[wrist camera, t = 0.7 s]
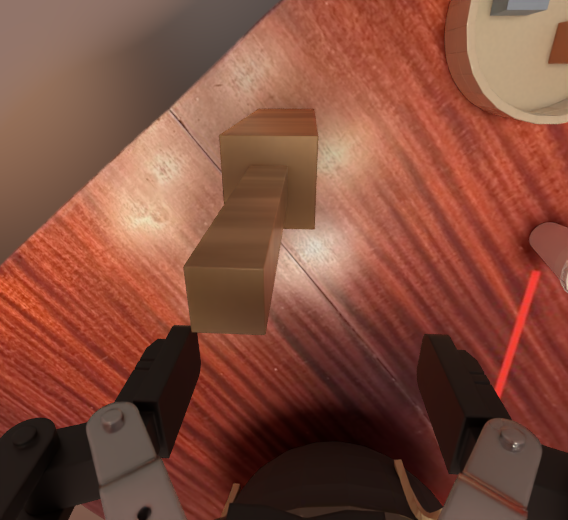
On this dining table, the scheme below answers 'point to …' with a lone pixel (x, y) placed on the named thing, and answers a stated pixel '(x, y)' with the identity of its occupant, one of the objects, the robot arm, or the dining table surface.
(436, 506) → the bowl
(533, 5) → the bluegrey block
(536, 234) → the smoothie
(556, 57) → the terracotta block
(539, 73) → the round beige tray
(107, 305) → the dining table surface
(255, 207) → the wooden square bar
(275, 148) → the oak stand
